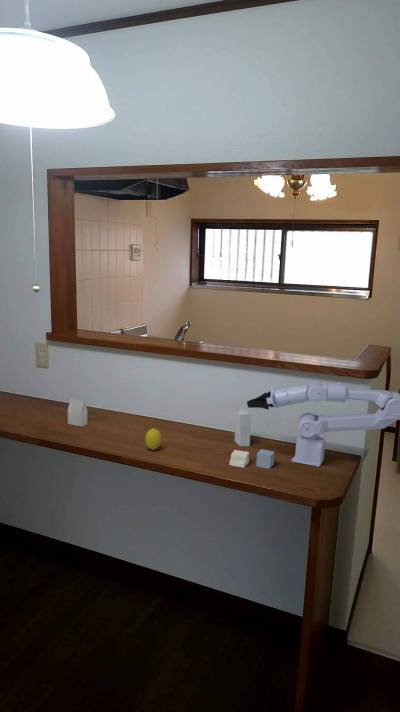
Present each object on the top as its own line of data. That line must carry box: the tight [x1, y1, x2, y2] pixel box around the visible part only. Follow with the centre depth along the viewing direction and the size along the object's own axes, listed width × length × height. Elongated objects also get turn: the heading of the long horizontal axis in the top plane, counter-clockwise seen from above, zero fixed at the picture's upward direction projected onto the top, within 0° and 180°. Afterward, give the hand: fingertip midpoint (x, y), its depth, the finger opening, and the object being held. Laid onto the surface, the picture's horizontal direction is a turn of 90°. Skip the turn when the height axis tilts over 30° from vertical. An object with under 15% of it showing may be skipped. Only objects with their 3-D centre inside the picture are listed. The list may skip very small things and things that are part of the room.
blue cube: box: [256, 448, 275, 470], centre depth 170 cm, size 4×4×4 cm
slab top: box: [230, 449, 250, 463], centre depth 170 cm, size 5×5×2 cm
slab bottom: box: [229, 457, 250, 469], centre depth 170 cm, size 5×5×2 cm
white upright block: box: [67, 398, 88, 427], centre depth 206 cm, size 4×7×10 cm, turn 66°
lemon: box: [145, 427, 162, 451], centre depth 180 cm, size 6×6×8 cm
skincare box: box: [234, 409, 252, 447], centre depth 189 cm, size 6×4×12 cm
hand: (249, 403), depth 177 cm, fingers open, 7 cm apart
